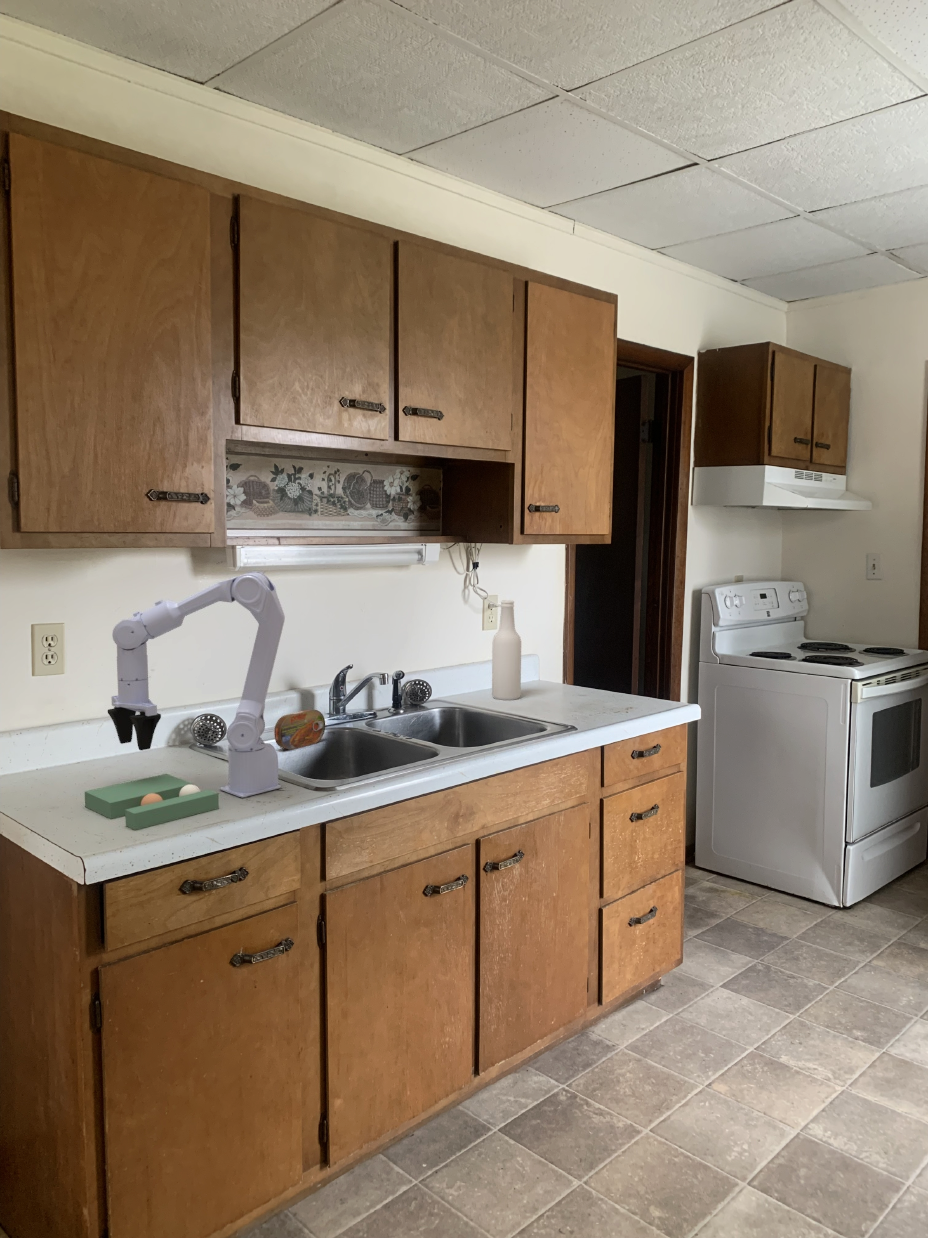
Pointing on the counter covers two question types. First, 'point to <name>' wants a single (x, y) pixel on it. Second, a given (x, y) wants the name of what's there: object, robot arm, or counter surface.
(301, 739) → the tin
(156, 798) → the terracotta ball
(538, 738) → the counter surface
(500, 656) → the alcohol
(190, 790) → the ivory ball
